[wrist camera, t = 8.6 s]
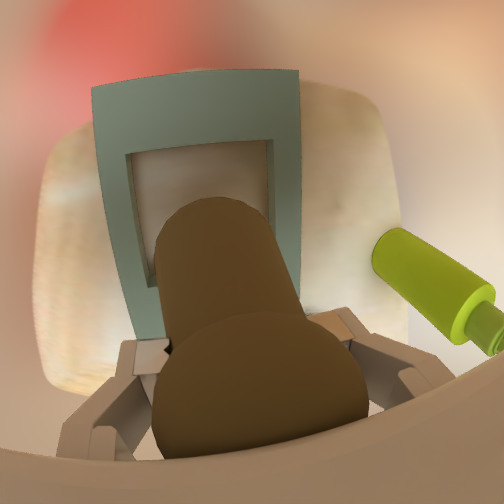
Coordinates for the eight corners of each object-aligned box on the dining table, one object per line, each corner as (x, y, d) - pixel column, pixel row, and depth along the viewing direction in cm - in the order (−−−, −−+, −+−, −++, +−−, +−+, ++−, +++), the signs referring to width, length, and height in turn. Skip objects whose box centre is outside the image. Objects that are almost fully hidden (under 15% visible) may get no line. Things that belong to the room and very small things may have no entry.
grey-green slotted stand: (106, 93, 20) (91, 87, 16) (279, 78, 23) (298, 70, 19) (141, 312, 28) (137, 341, 24) (283, 292, 31) (298, 318, 27)
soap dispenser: (377, 292, 34) (492, 414, 16) (367, 242, 31) (514, 363, 13) (415, 270, 34) (535, 370, 16) (409, 219, 31) (558, 314, 13)
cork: (176, 323, 16) (192, 527, 6) (137, 217, 14) (65, 425, 4) (285, 292, 17) (389, 469, 7) (265, 182, 14) (433, 322, 4)
